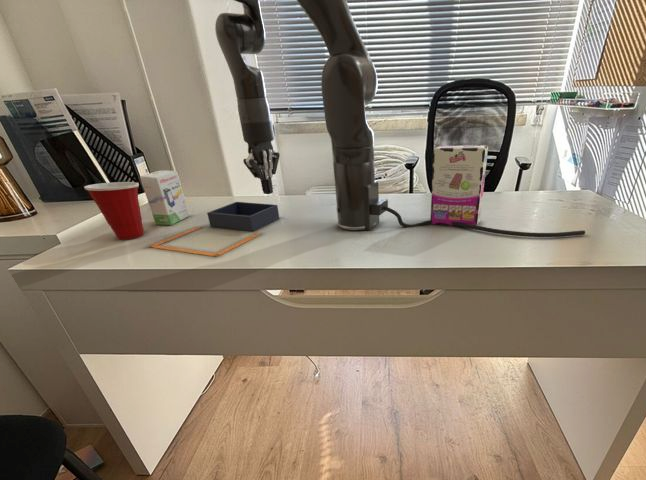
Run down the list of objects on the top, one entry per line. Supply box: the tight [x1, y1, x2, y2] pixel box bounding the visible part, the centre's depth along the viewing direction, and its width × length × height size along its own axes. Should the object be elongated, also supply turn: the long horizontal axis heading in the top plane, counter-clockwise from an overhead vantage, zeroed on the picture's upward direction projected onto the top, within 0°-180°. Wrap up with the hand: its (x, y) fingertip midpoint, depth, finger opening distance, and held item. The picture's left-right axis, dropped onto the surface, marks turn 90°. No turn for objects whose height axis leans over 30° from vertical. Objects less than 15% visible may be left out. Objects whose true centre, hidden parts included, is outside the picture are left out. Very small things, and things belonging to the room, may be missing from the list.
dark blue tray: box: [206, 201, 280, 232], centre depth 98 cm, size 13×11×4 cm
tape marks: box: [148, 226, 261, 258], centre depth 88 cm, size 20×15×1 cm
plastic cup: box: [83, 181, 145, 241], centre depth 90 cm, size 11×11×12 cm
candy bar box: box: [429, 145, 489, 227], centre depth 87 cm, size 11×5×16 cm, turn 68°
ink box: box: [139, 169, 191, 226], centre depth 100 cm, size 9×5×12 cm, turn 168°
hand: (268, 193), depth 105 cm, fingers closed
